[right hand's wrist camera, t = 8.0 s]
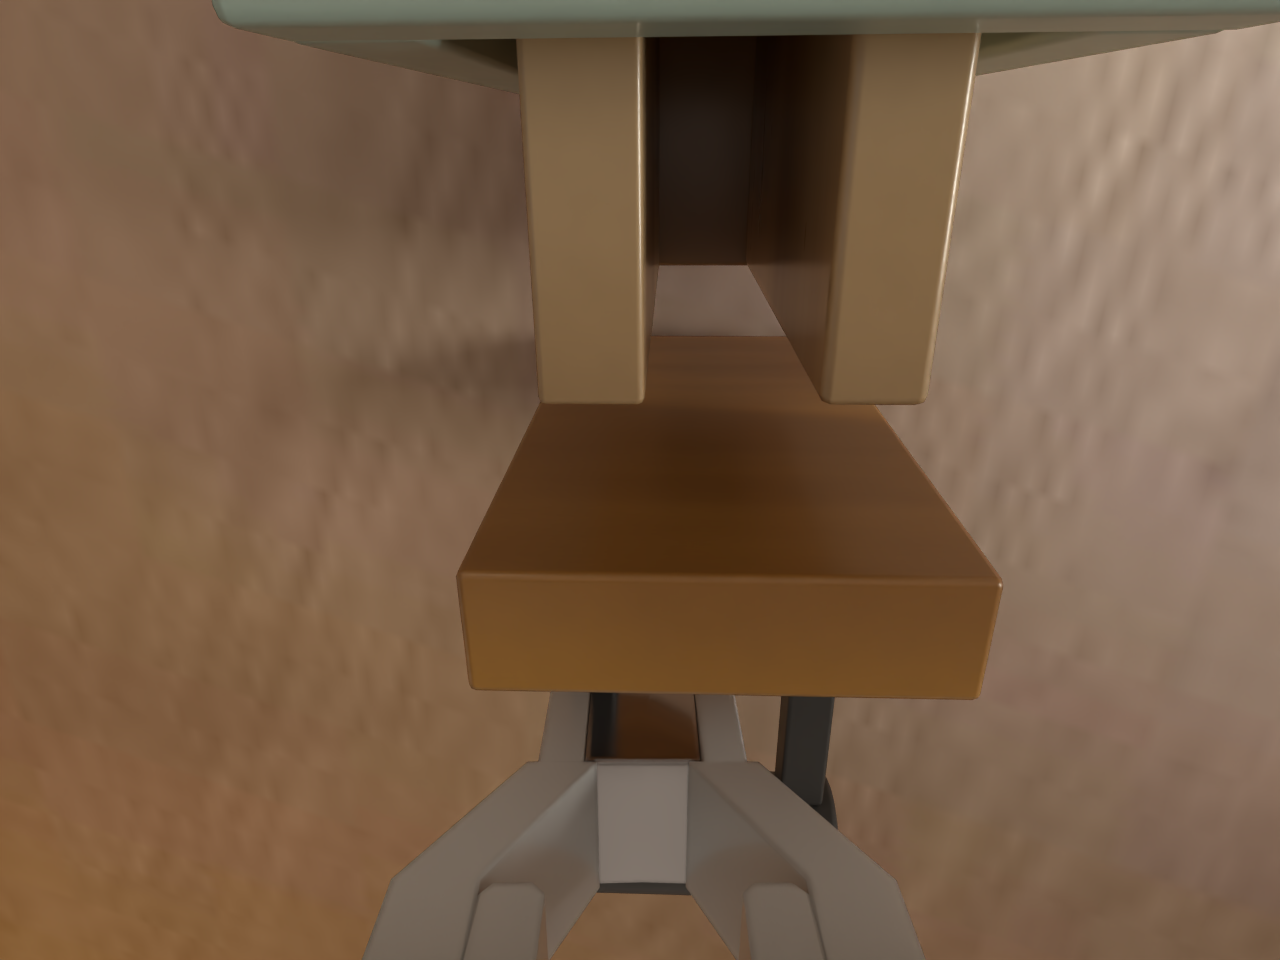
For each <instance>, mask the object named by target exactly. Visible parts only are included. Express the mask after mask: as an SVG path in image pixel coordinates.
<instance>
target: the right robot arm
mask: <svg viewBox="0 0 1280 960" xmlns="http://www.w3.org/2000/svg"><path fill="white" fill-rule="evenodd" d="M631 882H653V883H686V888H687V890H688V891H689V892H690V894H691V895H692V897H693V898H694V900H695V901H696V902H697V904H698V905H699V907H700V908H701V910H702V911H703V913H704V914H705V915H706V917H707V918H708V920H709V921H710V923H711V924H712V926H713V927H714V928H715V930H716V931H717V933H718V934H719V936H720V937H721V938H722V940H723V941H724V943H725V944H726V946H727V947H728V949H729V950H730V951H731V953H732V954H733V956H734V957H735V959H736V960H926V959H925V956H924V954H923V951H922V948H921V946H920V943H919V940H918V937H917V935H916V932H915V929H914V927H913V924H912V921H911V918H910V916H909V913H908V910H907V908H906V905H905V902H904V899H903V897H902V894H901V891H900V889H899V886H898V883H897V880H895V879H894V878H893V877H892V876H891V875H890V874H888V873H887V872H886V871H885V870H884V869H883V868H881V867H880V866H879V865H878V864H877V863H876V862H874V861H873V860H872V859H871V858H870V857H869V856H867V855H866V854H865V853H864V852H863V851H862V850H860V849H859V848H858V847H857V846H856V845H855V844H853V843H852V842H851V841H850V840H849V839H848V838H847V837H845V836H844V835H843V834H842V833H841V832H840V831H838V830H837V829H836V828H835V827H834V826H833V825H831V824H830V823H829V822H828V821H827V820H826V819H824V818H823V817H822V816H821V815H820V814H819V813H817V812H816V811H815V810H814V809H813V808H812V807H810V806H809V805H808V804H807V803H806V802H805V801H803V800H802V799H801V798H800V797H799V796H798V795H796V794H795V793H794V792H793V791H792V790H791V789H789V788H788V787H787V786H786V785H785V784H784V783H782V782H781V781H780V780H779V779H778V778H777V777H776V776H774V775H773V774H772V773H771V772H770V771H769V770H767V769H766V768H765V767H764V766H763V765H762V764H760V763H759V762H747V758H746V752H745V747H744V742H743V737H742V731H741V726H740V721H739V716H738V710H737V705H736V700H735V695H701V694H650V693H599V692H551V693H550V699H549V704H548V710H547V715H546V721H545V727H544V732H543V738H542V744H541V749H540V755H539V760H538V762H526V763H525V764H524V765H523V766H522V767H521V768H519V769H518V770H517V771H516V772H515V773H514V774H512V775H511V776H510V777H509V778H508V779H507V780H506V781H504V782H503V783H502V784H501V785H500V786H499V787H497V788H496V789H495V790H494V791H493V792H492V793H490V794H489V795H488V796H487V797H486V798H485V799H484V800H482V801H481V802H480V803H479V804H478V805H477V806H475V807H474V808H473V809H472V810H471V811H470V812H468V813H467V814H466V815H465V816H464V817H463V818H462V819H460V820H459V821H458V822H457V823H456V824H455V825H453V826H452V827H451V828H450V829H449V830H448V831H446V832H445V833H444V834H443V835H442V836H441V837H439V838H438V839H437V840H436V841H435V842H434V843H433V844H431V845H430V846H429V847H428V848H427V849H426V850H424V851H423V852H422V853H421V854H420V855H419V856H417V857H416V858H415V859H414V860H413V861H412V862H411V863H409V864H408V865H407V866H406V867H405V868H404V869H402V870H401V871H400V872H399V873H398V874H397V875H395V876H394V877H393V878H392V879H391V881H390V884H389V887H388V889H387V892H386V895H385V898H384V900H383V903H382V906H381V909H380V911H379V914H378V917H377V920H376V922H375V925H374V928H373V931H372V933H371V936H370V939H369V942H368V944H367V947H366V950H365V953H364V955H363V958H362V960H550V959H551V957H552V956H553V954H554V953H555V951H556V950H557V949H558V947H559V946H560V944H561V943H562V941H563V940H564V938H565V937H566V936H567V934H568V933H569V931H570V930H571V928H572V927H573V925H574V924H575V923H576V921H577V920H578V918H579V917H580V915H581V914H582V912H583V911H584V910H585V908H586V907H587V905H588V904H589V902H590V901H591V899H592V898H593V897H594V895H595V894H596V892H597V891H598V889H599V888H600V883H631Z"/></svg>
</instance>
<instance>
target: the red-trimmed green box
mask: <svg viewBox="0 0 1280 960" xmlns="http://www.w3.org/2000/svg"><path fill="white" fill-rule="evenodd" d="M212 4H213V7H214V9H215V11H216V13H217V15H218V17H219V19H220V20H221V21H222V22H223V23H225V24H227V25H230V26H232V27H234V28H237V29H241V30H245V31H249V32H254V33H258V34H262V35H267V36H271V37H275V38H280V39H284V40H288V41H294V42H296V43H298V44H301V45H305V46H310V47H314V48H319V49H323V50H327V51H332V52H336V53H341V54H345V55H349V56H354V57H358V58H363V59H367V60H371V61H376V62H380V63H385V64H389V65H393V66H398V67H402V68H407V69H411V70H415V71H420V72H424V73H429V74H433V75H437V76H442V77H446V78H451V79H455V80H459V81H464V82H468V83H473V84H477V85H481V86H486V87H490V88H495V89H499V90H503V91H508V92H512V93H517V94H519V80H518V64H517V49H516V39H527V38H607V37H686V36H766V35H845V34H925V33H982V35H981V42H980V49H979V55H978V62H977V69H976V75H975V76H977V75H983V74H988V73H994V72H1000V71H1005V70H1011V69H1017V68H1022V67H1028V66H1034V65H1039V64H1045V63H1050V62H1056V61H1062V60H1067V59H1073V58H1079V57H1084V56H1090V55H1096V54H1101V53H1107V52H1113V51H1118V50H1124V49H1130V48H1135V47H1141V46H1147V45H1152V44H1158V43H1164V42H1169V41H1175V40H1181V39H1186V38H1192V37H1198V36H1203V35H1209V34H1215V33H1218V32H1220V31H1223V30H1237V29H1242V28H1248V27H1253V26H1259V25H1265V24H1270V23H1276V22H1280V0H212Z"/></svg>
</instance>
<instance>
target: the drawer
mask: <svg viewBox="0 0 1280 960" xmlns="http://www.w3.org/2000/svg"><path fill="white" fill-rule="evenodd" d="M981 35H982V33H925V34H845V35H766V36H686V37H607V38H527V39H516V49H517V64H518V80H519V96H520V112H521V128H522V144H523V159H524V175H525V191H526V207H527V223H528V239H529V254H530V270H531V286H532V302H533V318H534V334H535V349H536V365H537V381H538V397H539V399H540V401H541V402H540V404H539V406H538V408H537V410H536V412H535V414H534V416H533V418H532V420H531V422H530V424H529V426H528V429H527V431H526V433H525V435H524V437H523V439H522V441H521V443H520V445H519V447H518V449H517V451H516V453H515V455H514V457H513V459H512V461H511V463H510V465H509V468H508V470H507V472H506V474H505V476H504V478H503V480H502V482H501V484H500V486H499V488H498V490H497V492H496V494H495V496H494V498H493V500H492V502H491V504H490V507H489V509H488V511H487V513H486V515H485V517H484V519H483V521H482V523H481V525H480V527H479V529H478V531H477V533H476V535H475V537H474V539H473V541H472V543H471V546H470V548H469V550H468V552H467V554H466V556H465V558H464V560H463V562H462V564H461V566H460V568H459V570H458V573H457V576H456V580H457V588H458V597H459V605H460V613H461V622H462V630H463V638H464V647H465V655H466V663H467V672H468V680H469V684H470V686H471V688H472V689H475V690H498V691H548V692H599V693H650V694H701V695H751V696H781V707H780V719H779V731H778V743H777V755H776V767H775V772H771V773H772V774H773V775H774V776H776V777H777V778H778V779H779V780H780V781H781V782H782V783H784V784H785V785H786V786H787V787H788V788H789V789H791V790H792V791H793V792H794V793H795V794H796V795H798V796H799V797H800V798H801V799H802V800H803V801H805V802H806V803H807V804H808V805H809V806H810V807H812V808H813V809H814V810H815V811H816V812H817V813H819V814H820V815H821V816H822V817H823V818H824V819H826V820H827V821H828V822H829V823H830V824H831V825H833V826H834V827H835V828H836V829H837V830H838V826H837V817H836V810H835V804H834V799H833V795H832V791H831V788H830V785H829V783H828V780H827V778H826V777H825V775H826V767H827V758H828V750H829V741H830V733H831V724H832V716H833V707H834V699H835V697H853V698H904V699H955V700H973V699H976V698H978V697H979V695H980V692H981V688H982V683H983V678H984V674H985V669H986V664H987V660H988V655H989V650H990V646H991V641H992V636H993V631H994V627H995V622H996V617H997V613H998V608H999V603H1000V599H1001V594H1002V589H1003V583H1002V579H1001V577H1000V576H999V574H998V573H997V572H996V570H995V569H994V568H993V566H992V565H991V563H990V562H989V561H988V559H987V558H986V557H985V555H984V554H983V553H982V551H981V550H980V548H979V547H978V546H977V544H976V543H975V542H974V540H973V539H972V537H971V536H970V535H969V533H968V532H967V531H966V529H965V528H964V526H963V525H962V524H961V522H960V521H959V520H958V518H957V517H956V516H955V514H954V513H953V511H952V510H951V509H950V507H949V506H948V505H947V503H946V502H945V500H944V499H943V498H942V496H941V495H940V494H939V492H938V491H937V490H936V488H935V487H934V485H933V484H932V483H931V481H930V480H929V479H928V477H927V476H926V474H925V473H924V472H923V470H922V469H921V468H920V466H919V465H918V463H917V462H916V461H915V459H914V458H913V457H912V455H911V454H910V453H909V451H908V450H907V448H906V447H905V446H904V444H903V443H902V442H901V440H900V439H899V437H898V436H897V435H896V433H895V432H894V431H893V429H892V428H891V427H890V425H889V424H888V422H887V421H886V420H885V418H884V417H883V416H882V414H881V413H880V411H879V410H878V409H877V407H876V406H875V405H916V404H920V403H923V402H924V401H925V399H926V397H927V395H928V390H929V383H930V377H931V370H932V363H933V356H934V350H935V343H936V336H937V330H938V323H939V316H940V310H941V303H942V296H943V290H944V283H945V276H946V269H947V263H948V256H949V249H950V243H951V236H952V229H953V223H954V216H955V209H956V203H957V196H958V189H959V183H960V176H961V169H962V162H963V156H964V149H965V142H966V136H967V129H968V122H969V116H970V109H971V102H972V96H973V89H974V82H975V75H976V69H977V62H978V55H979V49H980V42H981ZM659 265H748V267H749V269H750V270H751V272H752V274H753V276H754V278H755V279H756V281H757V283H758V285H759V287H760V289H761V290H762V292H763V294H764V296H765V298H766V300H767V301H768V303H769V305H770V307H771V309H772V311H773V312H774V314H775V316H776V318H777V320H778V322H779V323H780V325H781V327H782V329H783V331H784V333H785V334H786V336H651V333H652V324H653V314H654V305H655V296H656V286H657V277H658V268H659ZM597 892H598V893H632V894H666V895H691V894H690V892H689V891H688V890H687V888H686V883H653V882H631V883H600V888H599V889H598V891H597Z"/></svg>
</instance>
